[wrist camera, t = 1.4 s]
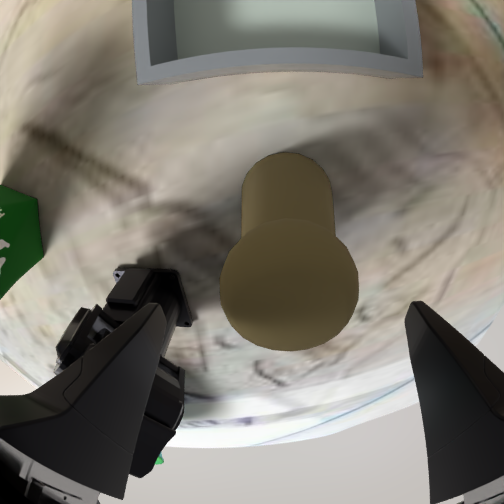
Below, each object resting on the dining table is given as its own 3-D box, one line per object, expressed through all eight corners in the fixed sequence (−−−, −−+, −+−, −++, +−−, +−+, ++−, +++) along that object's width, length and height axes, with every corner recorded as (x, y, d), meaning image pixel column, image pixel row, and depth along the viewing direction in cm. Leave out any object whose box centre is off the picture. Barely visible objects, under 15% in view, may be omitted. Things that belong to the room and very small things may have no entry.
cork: (343, 166, 16) (412, 269, 7) (316, 244, 20) (335, 379, 11) (251, 142, 16) (208, 219, 7) (234, 225, 20) (193, 354, 10)
